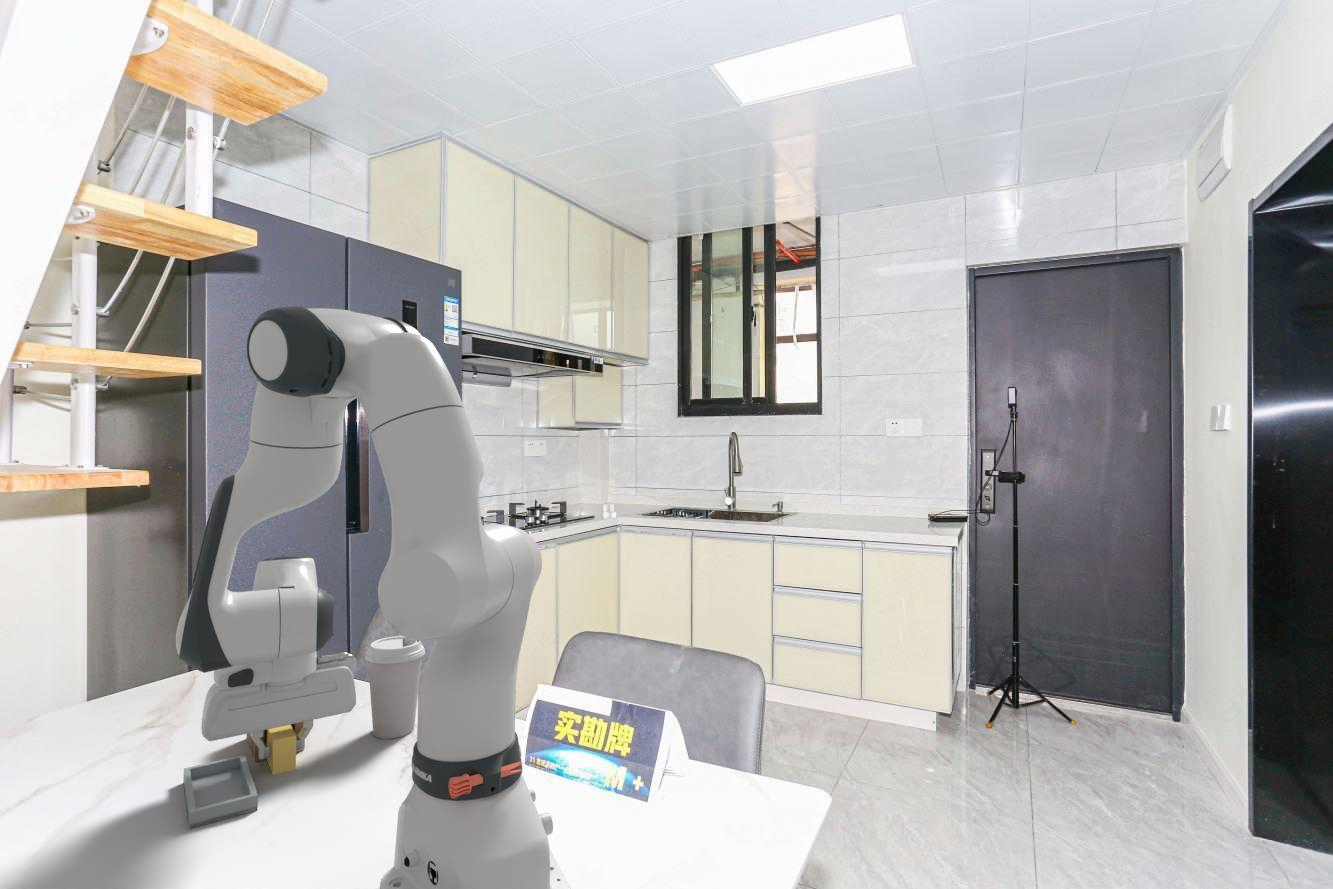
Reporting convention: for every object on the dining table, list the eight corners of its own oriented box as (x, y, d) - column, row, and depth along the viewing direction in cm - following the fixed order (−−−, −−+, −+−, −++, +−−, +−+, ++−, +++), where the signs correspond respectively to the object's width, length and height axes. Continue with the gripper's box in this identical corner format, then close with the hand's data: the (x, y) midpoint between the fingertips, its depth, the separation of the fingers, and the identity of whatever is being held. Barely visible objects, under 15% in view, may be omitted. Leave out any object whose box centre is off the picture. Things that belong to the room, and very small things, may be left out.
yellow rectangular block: (295, 769, 101) (296, 734, 101) (272, 774, 99) (273, 739, 99) (284, 745, 108) (285, 713, 108) (262, 750, 107) (263, 717, 107)
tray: (257, 810, 89) (257, 795, 89) (189, 828, 85) (189, 812, 85) (244, 768, 100) (244, 754, 101) (183, 782, 96) (183, 768, 96)
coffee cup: (410, 743, 110) (412, 651, 110) (352, 742, 110) (354, 650, 110) (432, 719, 119) (433, 635, 119) (378, 718, 119) (380, 634, 120)
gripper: (352, 645, 111) (350, 729, 111) (201, 668, 98) (199, 763, 98) (362, 655, 106) (360, 743, 106) (205, 681, 93) (202, 781, 93)
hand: (281, 753), depth 102 cm, fingers closed on yellow rectangular block, 3 cm apart
